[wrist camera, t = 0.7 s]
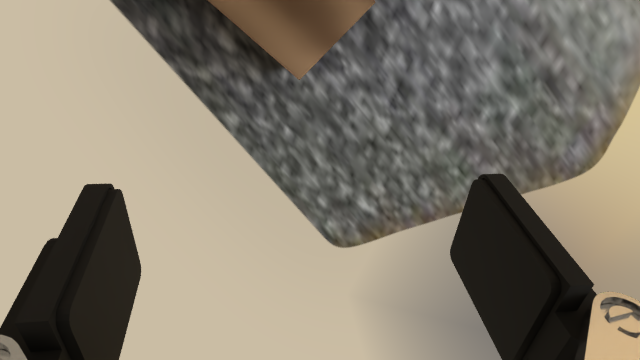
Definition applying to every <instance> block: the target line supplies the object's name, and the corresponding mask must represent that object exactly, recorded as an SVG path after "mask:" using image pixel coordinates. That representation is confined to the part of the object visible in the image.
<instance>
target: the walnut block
mask: <svg viewBox="0 0 640 360" xmlns="http://www.w3.org/2000/svg"><path fill="white" fill-rule="evenodd" d="M208 1H209V2H210V3H211V4H212V5H214V6H215V7H216V8H217V9H218V10H219V11H221V12H222V13H223V14H224V15H225V16H226V17H227V18H229V19H230V20H231V21H232V22H233V23H234V24H235V25H237V26H238V27H239V28H240V29H241V30H242V31H244V32H245V33H246V34H247V35H248V36H249V37H250V38H252V39H253V40H254V41H255V42H256V43H257V44H258V45H260V46H261V47H262V48H263V49H264V50H265V51H266V52H268V53H269V54H270V55H271V56H272V57H273V58H275V59H276V60H277V61H278V62H279V63H280V64H281V65H283V66H284V67H285V68H286V69H287V70H288V71H289V72H291V73H292V74H293V75H294V76H295V77H296V78H297V79H299V80H300V79H301V78H302V77H303V76H304V75H305V74H306V73H307V72H308V71H309V70H310V69H311V68H312V67H313V66H314V65H315V64H316V62H317V61H318V60H319V59H320V58H321V57H322V56H323V55H324V54H325V53H326V52H327V51H328V50H329V49H330V48H331V47H332V46H333V45H334V44H335V43H336V42H337V41H338V40H339V39H340V38H341V37H342V36H343V35H344V34H345V33H346V32H347V31H348V30H349V29H350V28H351V27H352V26H353V25H354V24H355V23H356V22H357V21H358V19H359V18H360V17H361V16H362V15H363V14H364V13H365V12H366V11H367V10H368V9H369V8H370V7H371V6H372V5H373V4H374V3H375V1H374V0H208Z"/></svg>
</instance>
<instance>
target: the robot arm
mask: <svg viewBox="0 0 640 360" xmlns="http://www.w3.org/2000/svg"><path fill="white" fill-rule="evenodd" d="M450 255H451V260H452V262H453V264H454V266H455V268H456V270H457V272H458V274H459V275H460V278H461V279H462V281H463V284H464V286H465V287H466V289H467V291H468V293H469V295H470V297H471V299H472V301H473V303H474V305H475V307H476V309H477V311H478V313H479V315H480V317H481V319H482V321H483V323H484V325H485V327H486V329H487V331H488V333H489V335H490V337H491V339H492V340H493V342H494V344H495V346H496V348H497V350H498V352H499V354H500V356H501V358H502V360H640V302H639V301H638V300H636V299H634V298H632V297H630V296H627V295H624V294H621V293H616V292H603V293H600V294H598V295H597V294H596V293H595V292H594V291H593V289H592V287H593V285H594V284H593V283H592V281H591V280H590V279H589V278H588V276H587V275H586V274H585V273H584V272H583V270H582V269H581V268H580V267H579V265H578V264H577V263H576V262H575V261H574V259H573V258H572V257H571V256H570V254H569V253H568V252H567V251H566V250H565V248H564V247H563V246H562V245H561V243H560V242H559V241H558V240H557V239H556V237H555V236H554V235H553V234H552V233H551V231H550V230H549V229H548V228H547V226H546V225H545V224H544V223H543V221H542V220H541V219H540V218H539V216H538V215H537V214H536V213H535V212H534V210H533V209H532V208H531V207H530V206H529V204H528V203H527V202H526V201H525V199H524V198H523V197H522V196H521V194H520V193H519V192H518V191H517V190H516V188H515V187H514V186H513V185H512V183H511V182H510V181H509V180H508V179H507V177H506V176H505V175H503V174H483V175H480V176H479V178H478V180H474V181H473V183H472V185H471V188H470V191H469V194H468V197H467V200H466V203H465V206H464V209H463V212H462V216H461V218H460V222H459V225H458V227H457V230H456V234H455V236H454V240H453V243H452V246H451V249H450ZM140 276H141V264H140V260H139V256H138V252H137V248H136V244H135V240H134V236H133V233H132V229H131V225H130V221H129V217H128V213H127V209H126V205H125V201H124V197H123V194H122V191H121V190H120V189H114V187H113V185H112V184H87V185H85V186H84V188H83V190H82V192H81V193H80V195H79V197H78V199H77V201H76V203H75V205H74V207H73V209H72V211H71V213H70V215H69V217H68V219H67V221H66V223H65V225H64V227H63V229H62V231H61V233H60V235H59V237H58V238H53V239H50V240H49V241H47V243H46V244H45V245H44V247H43V249H42V251H41V253H40V255H39V257H38V258H37V260H36V262H35V264H34V266H33V268H32V270H31V271H30V273H29V275H28V277H27V279H26V281H25V283H24V285H23V286H22V288H21V290H20V292H19V294H18V296H17V298H16V299H15V301H14V303H13V305H12V307H11V309H10V311H9V313H8V314H7V317H6V318H5V320H4V322H3V324H2V326H1V328H0V360H119V356H120V353H121V349H122V346H123V342H124V338H125V334H126V330H127V327H128V323H129V319H130V315H131V311H132V307H133V304H134V299H135V296H136V292H137V288H138V285H139V281H140Z"/></svg>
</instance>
